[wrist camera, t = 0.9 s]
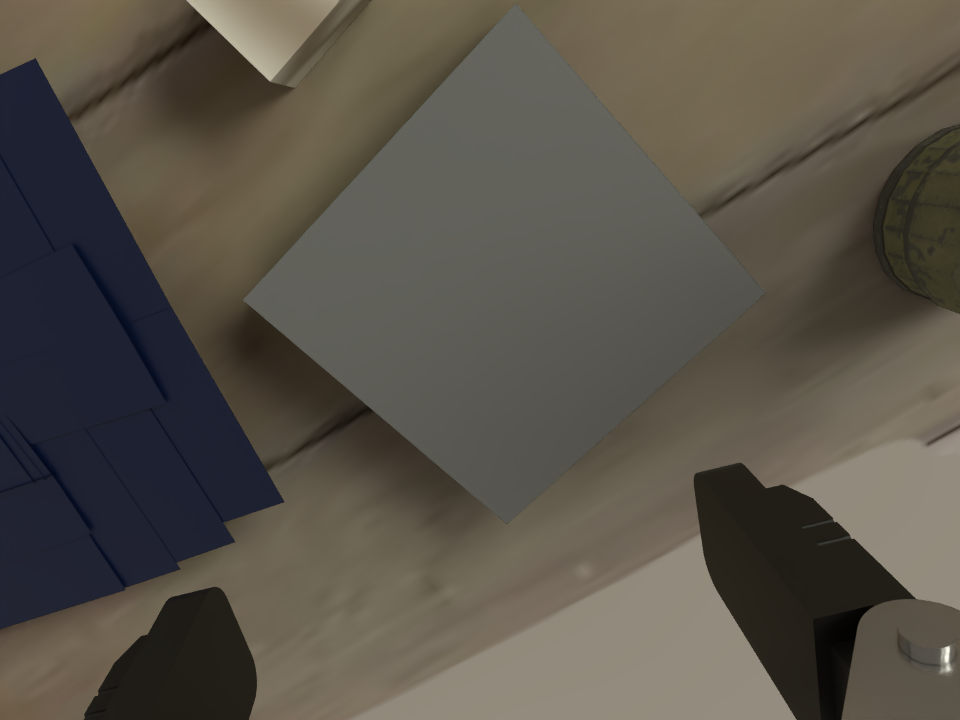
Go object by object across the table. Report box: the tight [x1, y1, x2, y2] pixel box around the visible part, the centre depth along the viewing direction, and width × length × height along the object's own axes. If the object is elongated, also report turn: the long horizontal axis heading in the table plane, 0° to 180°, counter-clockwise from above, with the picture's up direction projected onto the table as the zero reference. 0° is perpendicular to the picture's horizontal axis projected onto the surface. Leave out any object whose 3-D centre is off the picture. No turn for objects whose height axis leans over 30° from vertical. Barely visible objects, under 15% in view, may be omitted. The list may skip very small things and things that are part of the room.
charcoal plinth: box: [243, 4, 766, 524], centre depth 31 cm, size 16×16×4 cm
